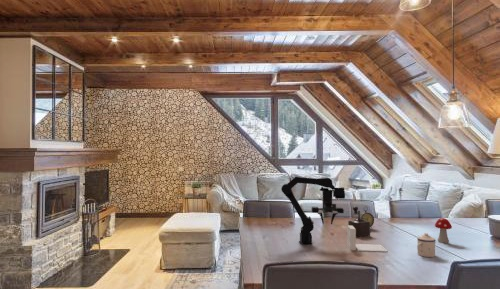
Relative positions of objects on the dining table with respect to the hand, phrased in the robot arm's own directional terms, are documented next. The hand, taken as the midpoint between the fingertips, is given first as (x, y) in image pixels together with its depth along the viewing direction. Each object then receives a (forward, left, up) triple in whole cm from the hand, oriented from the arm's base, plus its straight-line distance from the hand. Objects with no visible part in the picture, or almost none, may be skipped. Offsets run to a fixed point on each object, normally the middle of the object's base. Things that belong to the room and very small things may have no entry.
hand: (327, 224), depth 220 cm
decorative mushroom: (+73, -12, -12) cm, 75 cm away
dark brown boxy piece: (+32, +20, -12) cm, 40 cm away
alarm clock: (+48, +35, -12) cm, 61 cm away
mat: (+20, -15, -12) cm, 27 cm away
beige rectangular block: (+10, -11, -12) cm, 19 cm away
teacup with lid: (+41, -34, -12) cm, 55 cm away
